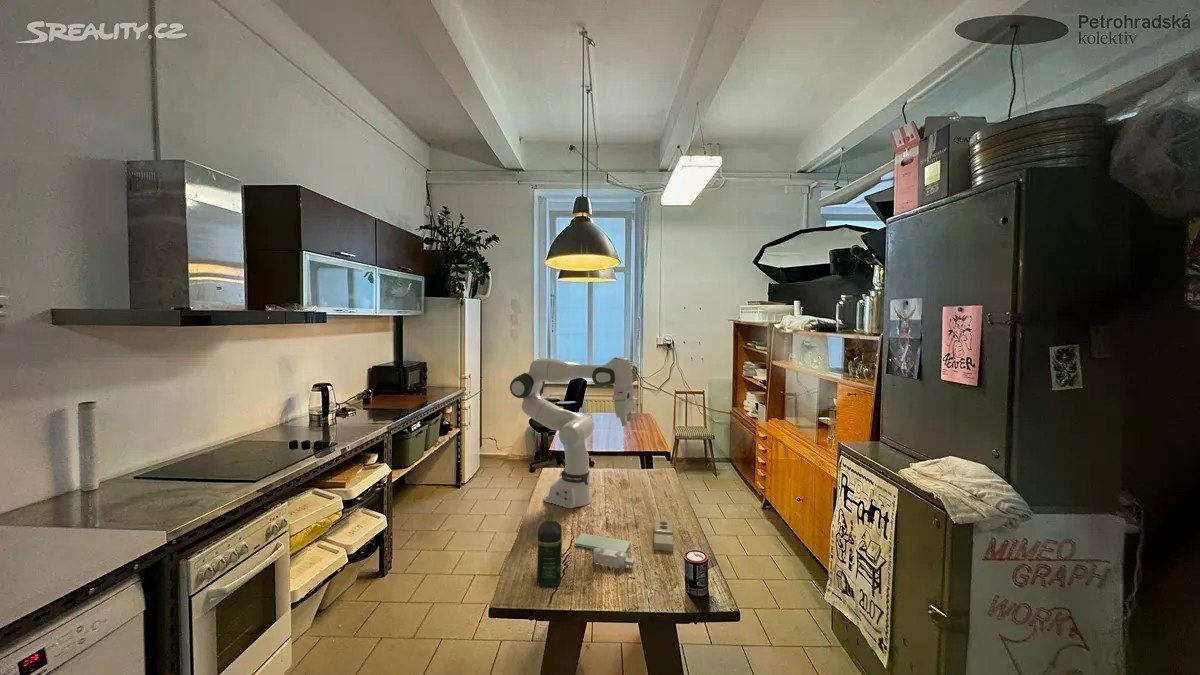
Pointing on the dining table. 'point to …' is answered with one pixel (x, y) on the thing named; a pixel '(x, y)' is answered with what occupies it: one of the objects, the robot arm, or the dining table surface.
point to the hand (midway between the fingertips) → (626, 423)
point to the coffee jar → (549, 554)
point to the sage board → (602, 542)
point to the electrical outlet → (663, 535)
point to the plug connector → (611, 558)
